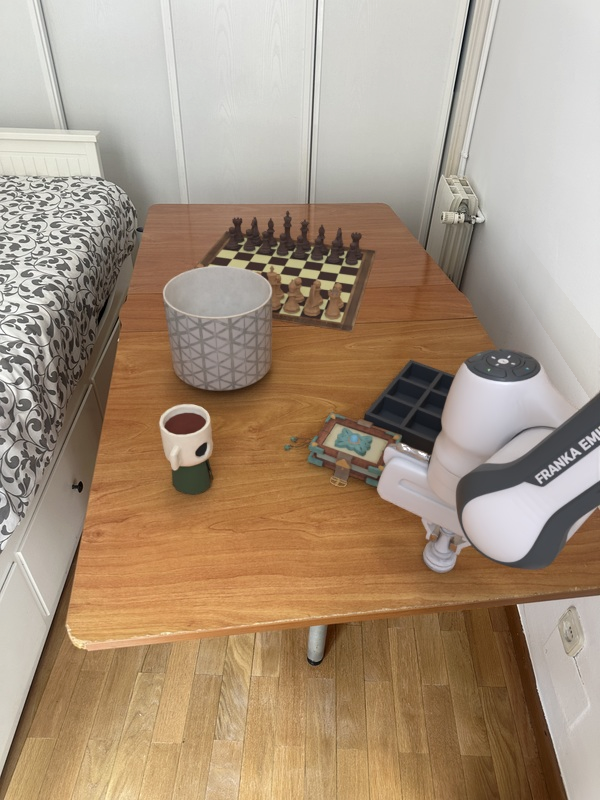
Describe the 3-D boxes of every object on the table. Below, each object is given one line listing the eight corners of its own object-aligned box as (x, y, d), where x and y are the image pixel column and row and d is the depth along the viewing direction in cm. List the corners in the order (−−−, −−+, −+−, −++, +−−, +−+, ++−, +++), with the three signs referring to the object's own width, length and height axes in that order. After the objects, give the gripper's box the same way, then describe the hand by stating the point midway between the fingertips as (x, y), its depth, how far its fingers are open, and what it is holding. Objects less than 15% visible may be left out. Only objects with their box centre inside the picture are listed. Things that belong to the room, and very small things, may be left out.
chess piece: (456, 550, 75) (472, 504, 69) (453, 577, 72) (470, 530, 66) (424, 542, 76) (438, 495, 70) (420, 567, 73) (434, 521, 67)
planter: (272, 403, 99) (273, 317, 88) (168, 404, 98) (154, 317, 86) (271, 345, 114) (271, 266, 102) (180, 345, 112) (170, 265, 101)
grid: (505, 410, 100) (510, 395, 98) (470, 475, 87) (476, 460, 85) (407, 374, 108) (410, 359, 105) (362, 428, 95) (364, 413, 92)
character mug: (202, 513, 79) (195, 450, 71) (157, 504, 80) (144, 441, 72) (225, 461, 87) (221, 399, 79) (184, 453, 88) (175, 392, 80)
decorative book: (307, 415, 97) (309, 394, 94) (401, 447, 91) (406, 425, 88) (273, 463, 87) (273, 441, 84) (375, 502, 82) (380, 480, 79)
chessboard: (162, 302, 126) (156, 261, 119) (226, 231, 160) (224, 195, 153) (352, 332, 119) (357, 289, 112) (376, 250, 153) (381, 214, 147)
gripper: (375, 452, 65) (363, 524, 74) (549, 529, 57) (512, 599, 66) (397, 423, 69) (383, 494, 78) (562, 491, 61) (526, 562, 70)
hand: (443, 543), depth 72 cm, fingers closed on chess piece, 2 cm apart
